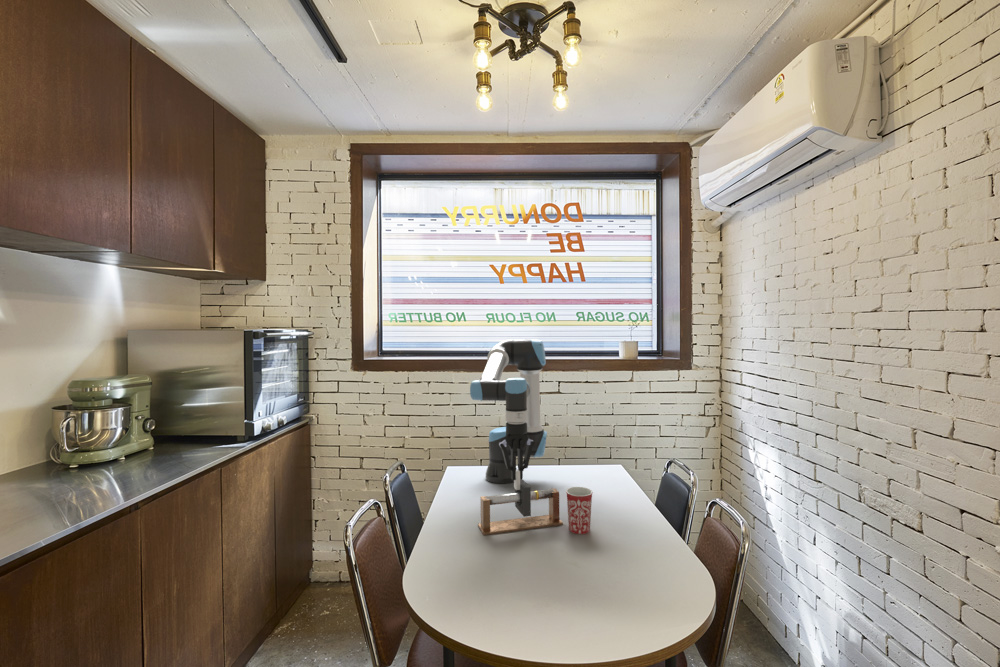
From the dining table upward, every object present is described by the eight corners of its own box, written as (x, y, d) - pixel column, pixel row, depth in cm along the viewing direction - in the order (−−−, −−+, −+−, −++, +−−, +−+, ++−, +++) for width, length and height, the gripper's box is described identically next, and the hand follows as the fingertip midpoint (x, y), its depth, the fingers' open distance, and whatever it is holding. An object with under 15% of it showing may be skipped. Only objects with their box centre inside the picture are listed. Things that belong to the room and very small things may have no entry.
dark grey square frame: (523, 516, 163) (523, 487, 163) (515, 506, 173) (514, 478, 173) (530, 515, 164) (530, 487, 164) (521, 505, 174) (521, 478, 174)
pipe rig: (483, 535, 161) (483, 501, 160) (478, 525, 168) (477, 493, 168) (563, 524, 168) (562, 492, 168) (554, 516, 176) (554, 484, 176)
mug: (593, 536, 159) (593, 496, 159) (566, 534, 160) (565, 495, 160) (592, 521, 171) (591, 483, 171) (566, 519, 173) (566, 482, 173)
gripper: (501, 425, 162) (502, 494, 163) (537, 422, 166) (538, 490, 166) (495, 421, 169) (496, 487, 170) (530, 418, 173) (531, 483, 173)
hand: (517, 488), depth 168 cm, fingers closed
